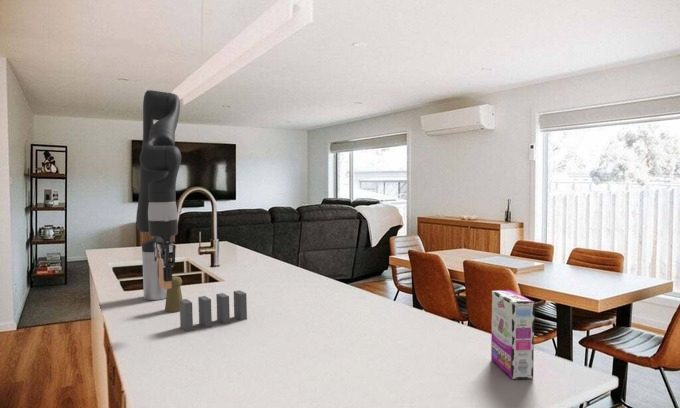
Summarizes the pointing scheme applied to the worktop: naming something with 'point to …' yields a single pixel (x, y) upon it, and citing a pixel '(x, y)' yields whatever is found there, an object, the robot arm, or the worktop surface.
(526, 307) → the candy bar box
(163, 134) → the robot arm
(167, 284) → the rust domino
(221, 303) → the domino
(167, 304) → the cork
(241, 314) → the domino
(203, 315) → the domino
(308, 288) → the worktop surface
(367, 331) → the worktop surface
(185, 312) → the domino
